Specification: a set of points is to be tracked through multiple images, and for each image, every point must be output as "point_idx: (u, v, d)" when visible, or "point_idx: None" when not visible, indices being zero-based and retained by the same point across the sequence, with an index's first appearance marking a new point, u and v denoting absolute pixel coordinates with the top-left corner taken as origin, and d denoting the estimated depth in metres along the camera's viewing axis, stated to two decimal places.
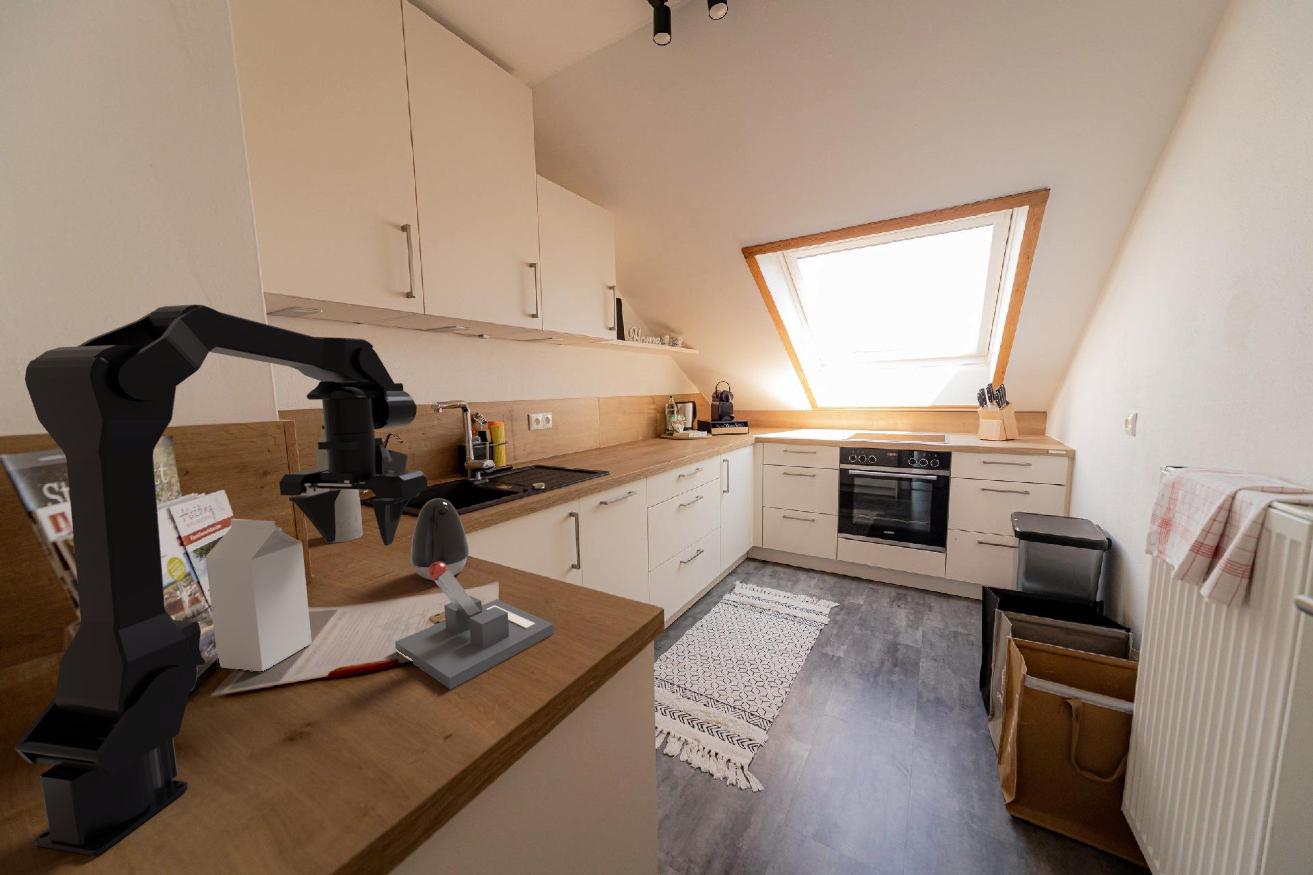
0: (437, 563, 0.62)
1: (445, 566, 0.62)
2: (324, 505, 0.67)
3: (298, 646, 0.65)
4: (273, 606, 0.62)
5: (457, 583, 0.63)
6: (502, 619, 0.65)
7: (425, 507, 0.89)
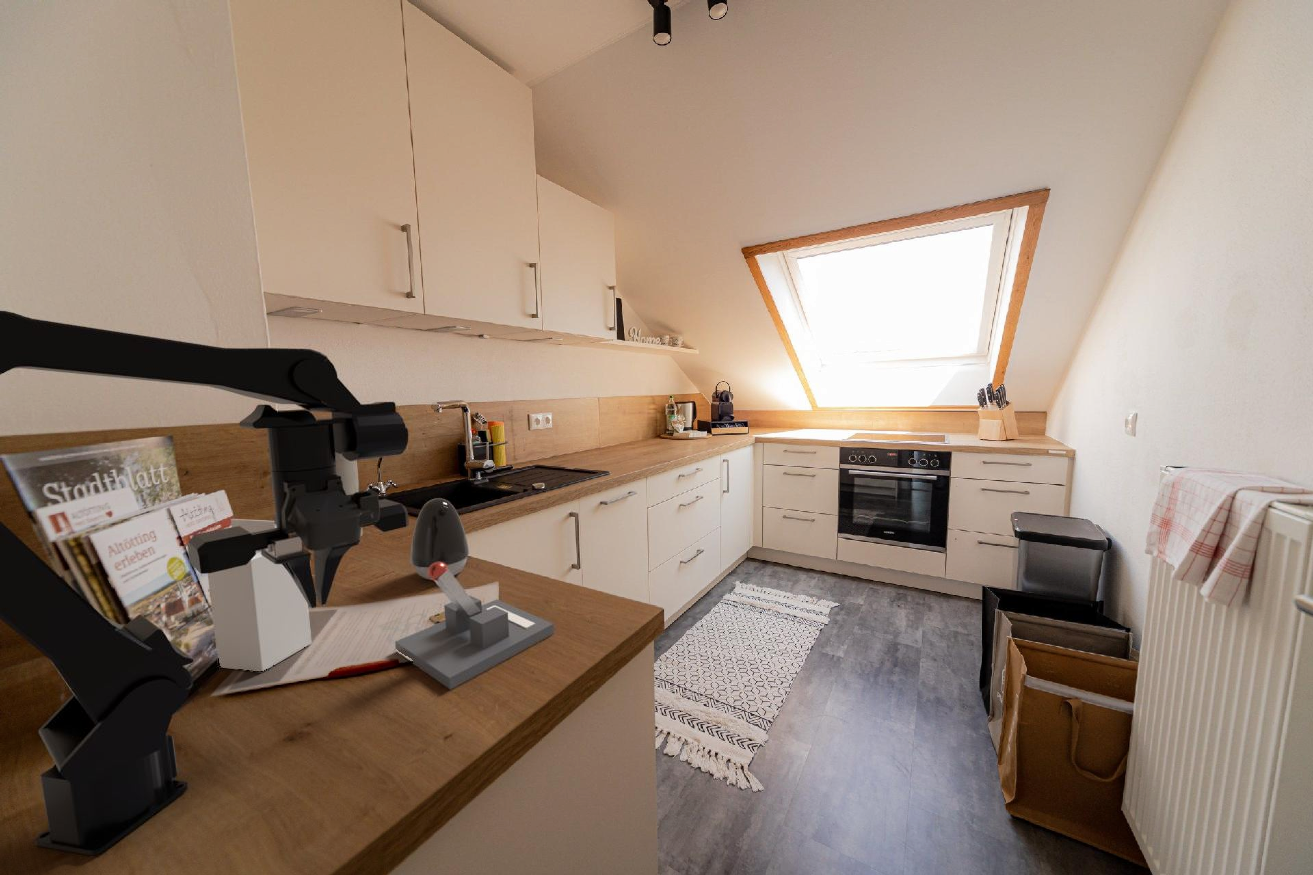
0: (437, 563, 0.62)
1: (445, 566, 0.62)
2: (320, 557, 0.53)
3: (298, 646, 0.65)
4: (273, 606, 0.62)
5: (457, 583, 0.63)
6: (502, 619, 0.65)
7: (425, 507, 0.89)
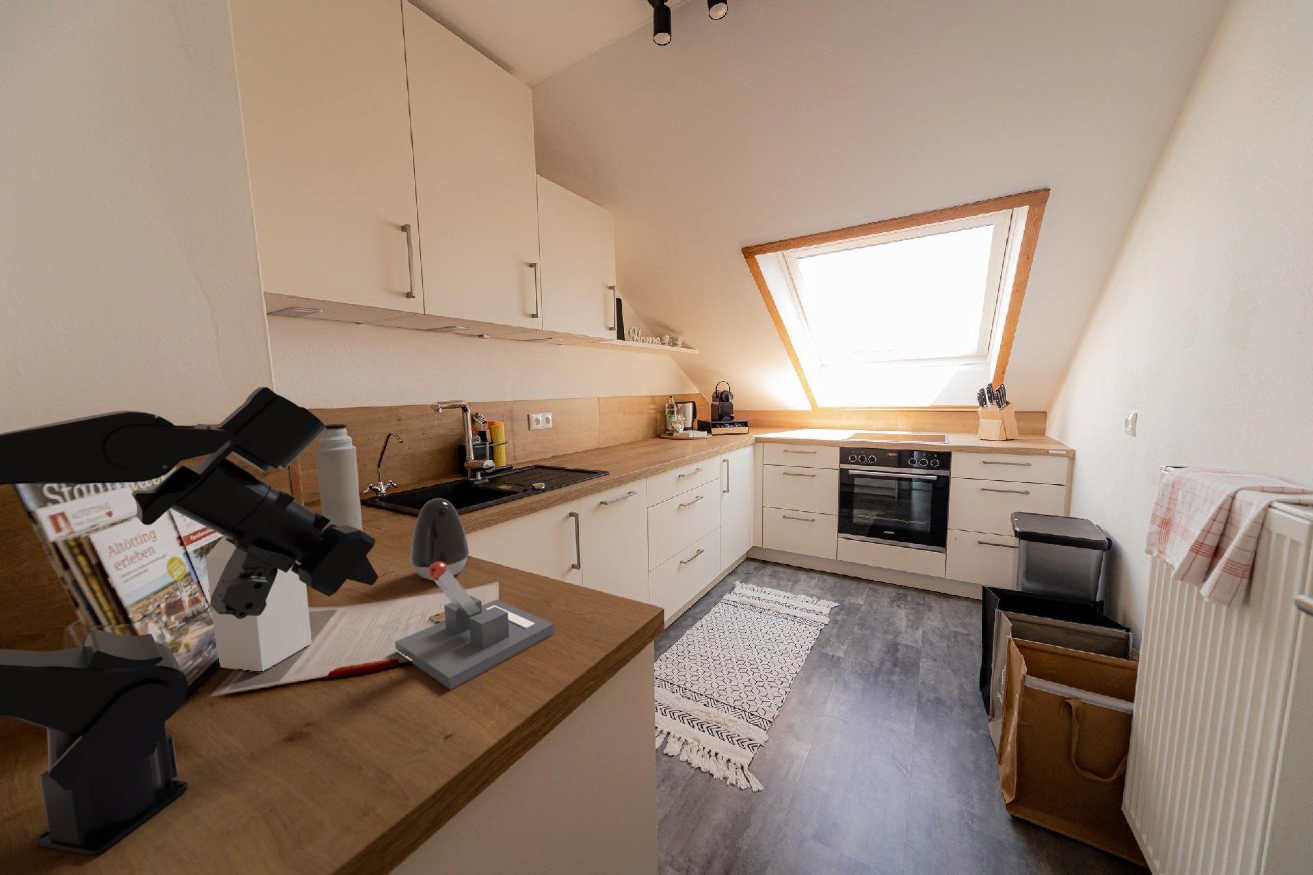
0: (437, 563, 0.62)
1: (445, 566, 0.62)
2: None
3: (298, 646, 0.65)
4: (273, 606, 0.62)
5: (457, 583, 0.63)
6: (502, 619, 0.65)
7: (425, 507, 0.89)
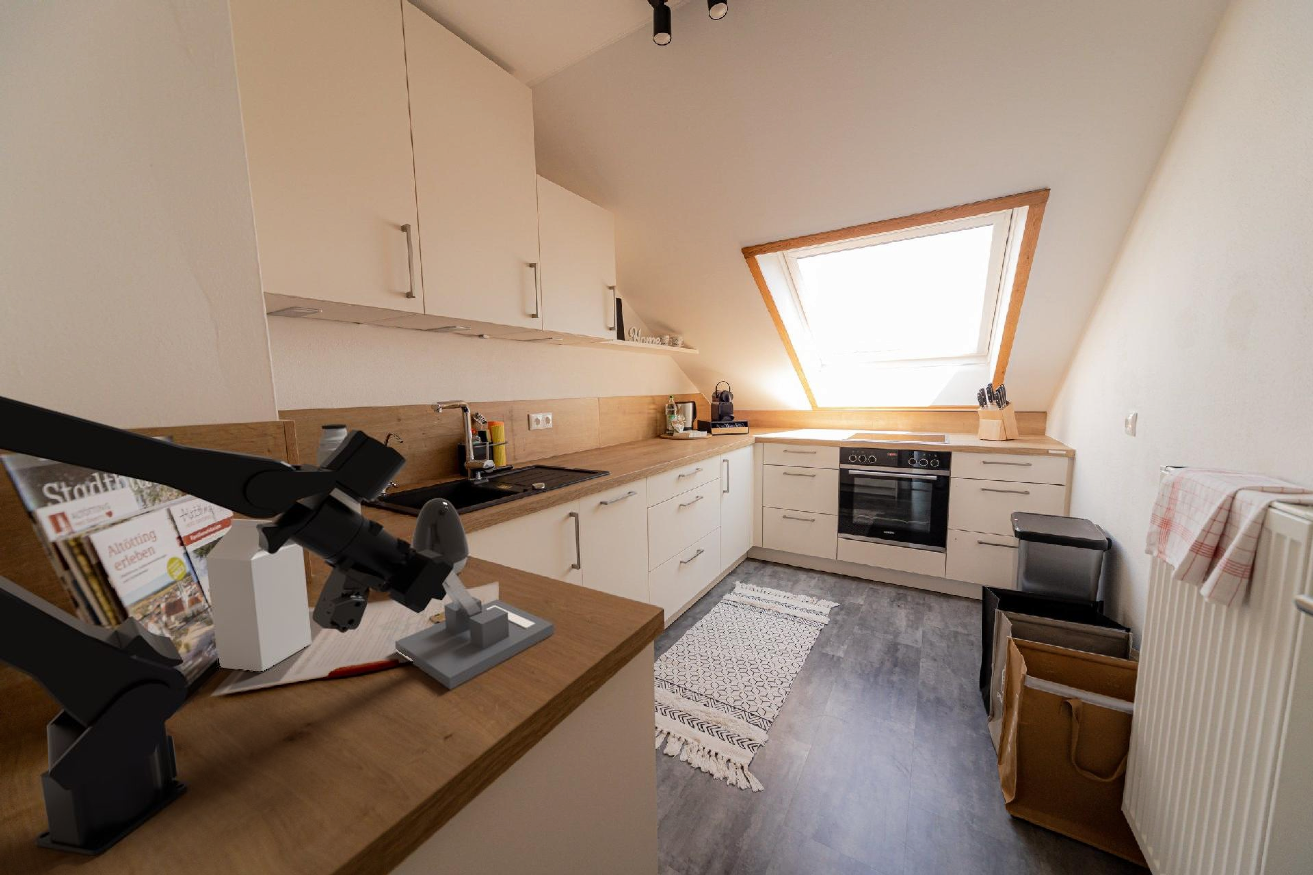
0: None
1: None
2: None
3: (298, 646, 0.65)
4: (273, 606, 0.62)
5: (459, 581, 0.63)
6: (502, 619, 0.65)
7: (425, 507, 0.89)
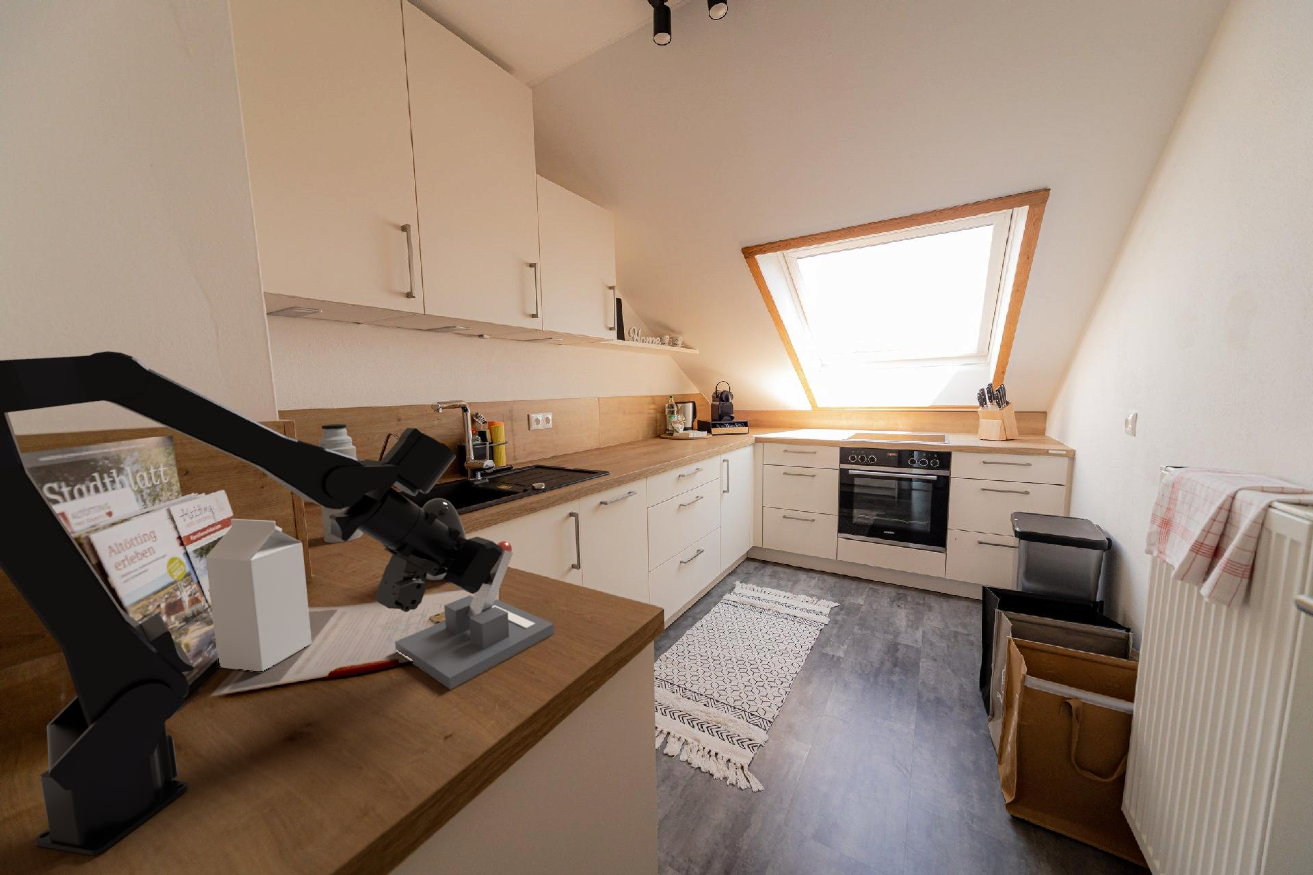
0: (509, 543, 0.70)
1: (511, 550, 0.70)
2: None
3: (298, 646, 0.65)
4: (273, 606, 0.62)
5: (505, 570, 0.69)
6: (502, 619, 0.65)
7: (425, 507, 0.89)
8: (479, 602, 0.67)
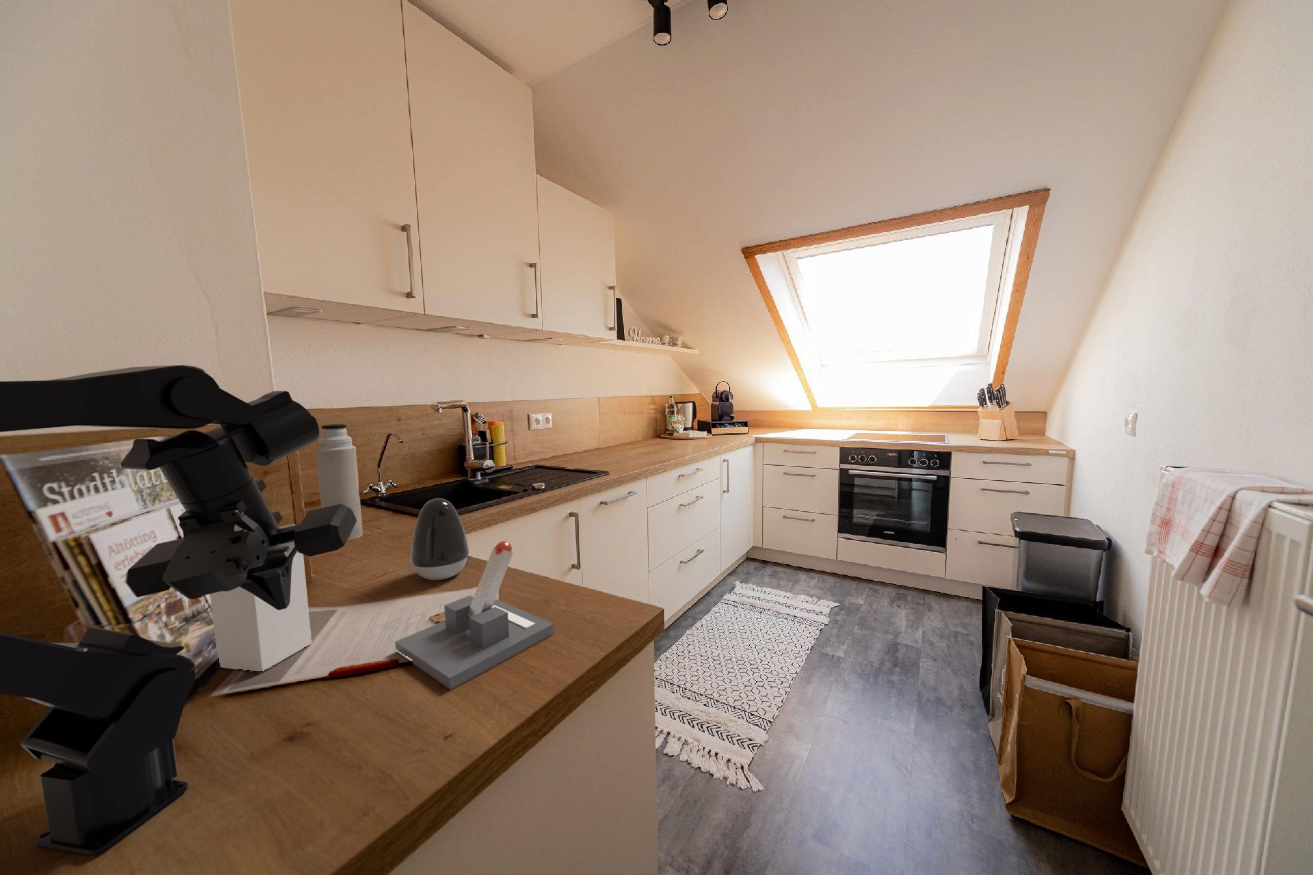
0: (509, 543, 0.70)
1: (511, 550, 0.70)
2: None
3: (298, 646, 0.65)
4: None
5: (505, 570, 0.69)
6: (502, 619, 0.65)
7: (425, 507, 0.89)
8: (479, 602, 0.67)
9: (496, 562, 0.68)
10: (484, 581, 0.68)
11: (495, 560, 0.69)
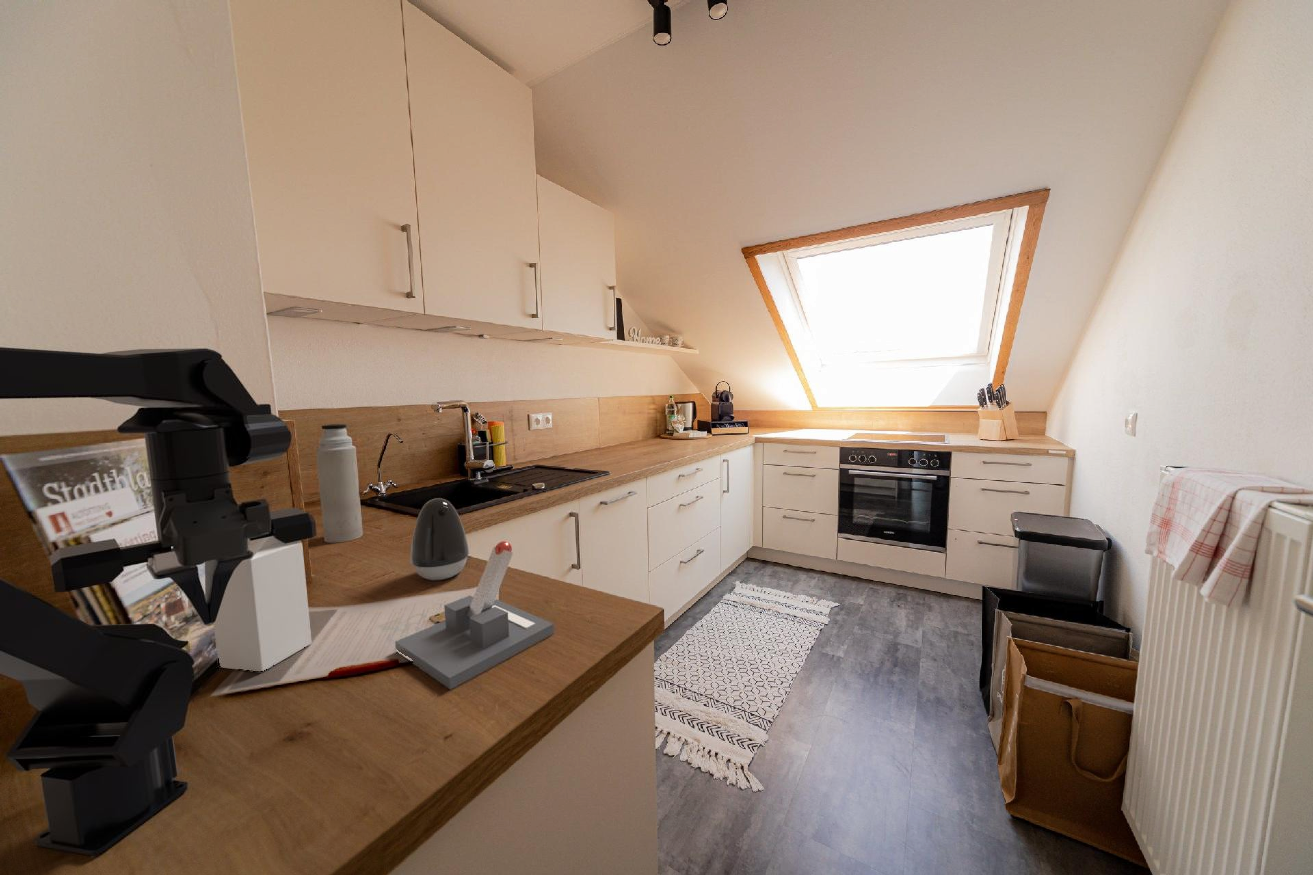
0: (509, 543, 0.70)
1: (511, 550, 0.70)
2: (209, 571, 0.49)
3: (298, 646, 0.65)
4: (273, 606, 0.62)
5: (505, 570, 0.69)
6: (502, 619, 0.65)
7: (425, 507, 0.89)
8: (479, 602, 0.67)
9: (496, 562, 0.68)
10: (484, 581, 0.68)
11: (495, 560, 0.69)
